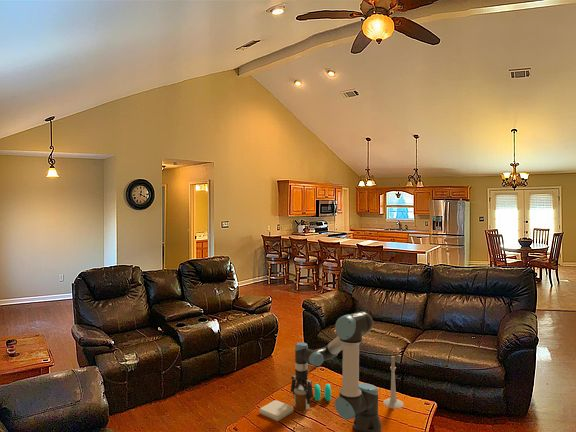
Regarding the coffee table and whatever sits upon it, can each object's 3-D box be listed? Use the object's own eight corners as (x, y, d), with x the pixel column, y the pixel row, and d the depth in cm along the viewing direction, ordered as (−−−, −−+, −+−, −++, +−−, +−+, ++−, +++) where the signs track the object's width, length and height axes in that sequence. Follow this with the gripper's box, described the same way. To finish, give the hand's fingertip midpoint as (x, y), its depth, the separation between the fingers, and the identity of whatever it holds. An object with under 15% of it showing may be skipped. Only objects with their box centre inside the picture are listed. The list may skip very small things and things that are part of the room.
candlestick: (387, 398, 258) (386, 350, 258) (407, 403, 251) (406, 354, 250) (379, 406, 248) (378, 356, 247) (400, 411, 240) (399, 361, 240)
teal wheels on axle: (331, 404, 251) (331, 387, 251) (315, 404, 251) (314, 387, 251) (330, 396, 261) (329, 381, 261) (314, 396, 261) (314, 381, 261)
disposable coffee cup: (308, 412, 241) (308, 392, 241) (292, 410, 243) (292, 390, 242) (310, 404, 250) (310, 385, 250) (295, 403, 252) (295, 384, 252)
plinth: (293, 411, 242) (293, 406, 242) (277, 421, 231) (277, 416, 231) (275, 404, 251) (275, 399, 251) (259, 413, 240) (259, 408, 240)
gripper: (319, 371, 242) (319, 409, 243) (292, 363, 256) (292, 399, 256) (311, 375, 236) (312, 414, 237) (284, 366, 250) (284, 403, 250)
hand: (301, 406), depth 246 cm, fingers closed on disposable coffee cup, 8 cm apart
